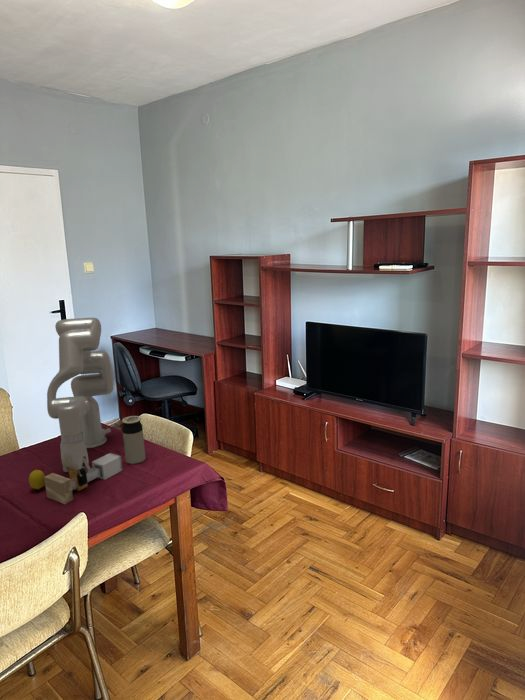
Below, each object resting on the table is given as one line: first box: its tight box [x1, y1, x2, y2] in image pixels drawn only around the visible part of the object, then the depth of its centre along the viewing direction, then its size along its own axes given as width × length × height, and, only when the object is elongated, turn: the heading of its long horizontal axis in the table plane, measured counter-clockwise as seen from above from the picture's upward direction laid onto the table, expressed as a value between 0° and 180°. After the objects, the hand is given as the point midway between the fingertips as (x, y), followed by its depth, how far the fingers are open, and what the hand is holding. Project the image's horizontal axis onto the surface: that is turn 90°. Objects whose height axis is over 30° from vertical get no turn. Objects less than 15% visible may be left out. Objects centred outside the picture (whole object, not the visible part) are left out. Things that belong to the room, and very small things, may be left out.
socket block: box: [44, 472, 74, 505], centre depth 176 cm, size 4×10×8 cm, turn 57°
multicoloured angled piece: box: [68, 465, 102, 492], centre depth 185 cm, size 19×4×9 cm, turn 147°
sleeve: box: [91, 452, 124, 481], centre depth 194 cm, size 9×6×6 cm
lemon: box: [28, 469, 46, 490], centre depth 184 cm, size 6×6×8 cm
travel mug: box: [121, 415, 146, 465], centre depth 203 cm, size 8×8×18 cm
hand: (78, 482), depth 184 cm, fingers closed on multicoloured angled piece, 4 cm apart
